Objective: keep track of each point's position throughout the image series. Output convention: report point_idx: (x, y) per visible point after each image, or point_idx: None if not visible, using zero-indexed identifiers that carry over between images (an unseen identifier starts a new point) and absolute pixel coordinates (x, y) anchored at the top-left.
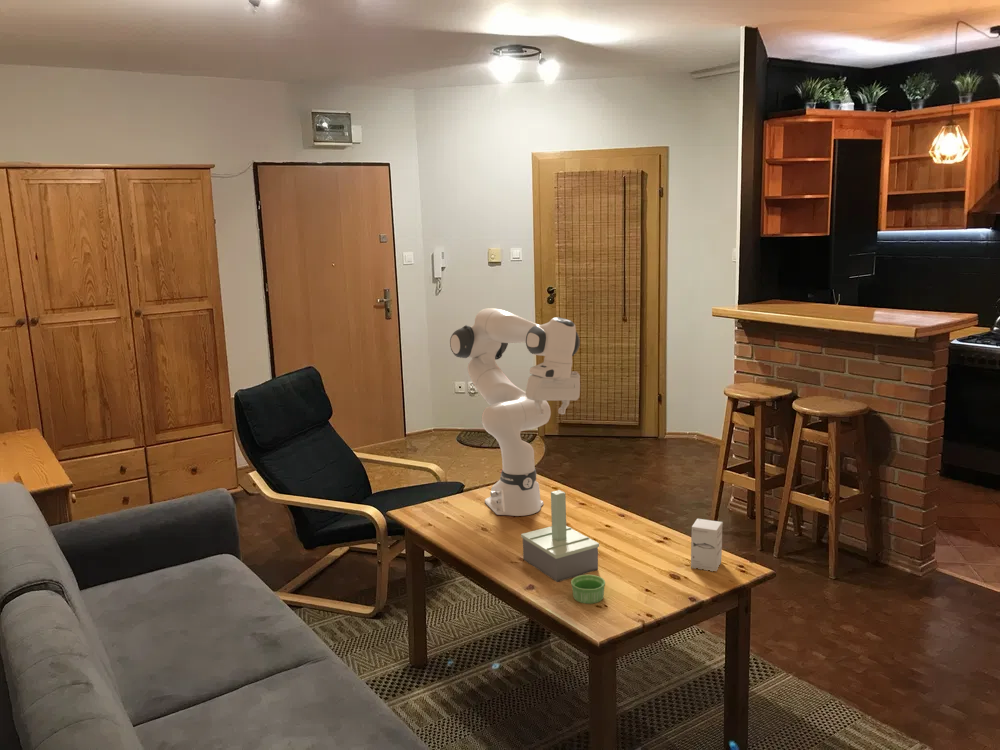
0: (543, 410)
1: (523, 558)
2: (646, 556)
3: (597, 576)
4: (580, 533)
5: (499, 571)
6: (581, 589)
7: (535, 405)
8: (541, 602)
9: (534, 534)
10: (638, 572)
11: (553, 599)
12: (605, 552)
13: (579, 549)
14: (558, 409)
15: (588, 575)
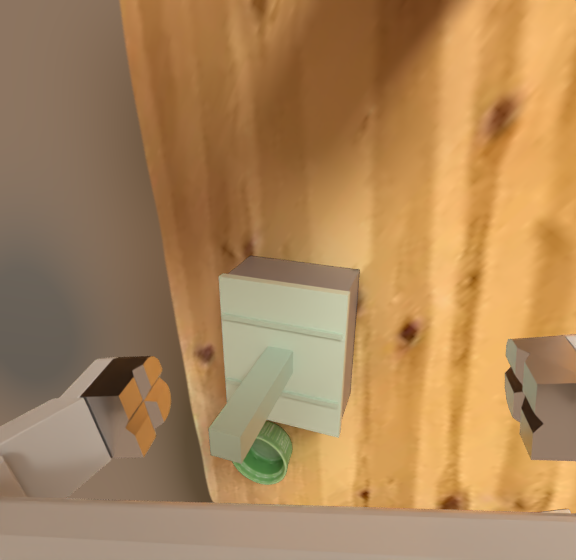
0: (150, 443)
1: (248, 257)
2: (488, 427)
3: (283, 461)
4: (342, 374)
5: (185, 267)
6: (235, 465)
7: (8, 425)
8: (197, 401)
9: (244, 301)
10: (407, 453)
11: (217, 407)
12: (429, 351)
13: (285, 423)
14: (525, 367)
15: (273, 447)
